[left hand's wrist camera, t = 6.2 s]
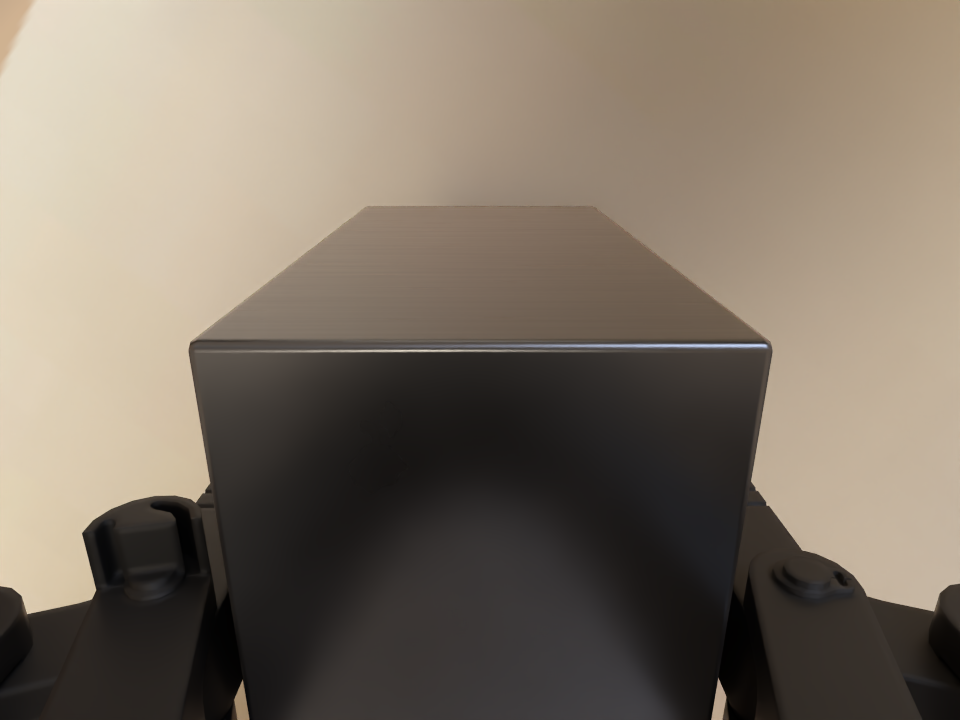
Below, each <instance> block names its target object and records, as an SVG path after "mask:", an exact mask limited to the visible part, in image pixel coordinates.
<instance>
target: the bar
mask: <svg viewBox="0 0 960 720" xmlns="http://www.w3.org/2000/svg"><path fill="white" fill-rule="evenodd" d="M189 357H190V363H191V369H192V375H193V381H194V387H195V393H196V399H197V405H198V411H199V417H200V423H201V429H202V435H203V441H204V447H205V453H206V459H207V465H208V471H209V477H210V483H211V489H212V495H213V501H214V507H215V513H216V520H217V526H218V532H219V538H220V544H221V550H222V556H223V562H224V568H225V574H226V580H227V586H228V592H229V598H230V604H231V610H232V616H233V622H234V628H235V634H236V640H237V646H238V652H239V658H240V664H241V670H242V676H243V682H244V688H245V694H246V700H247V706H248V712H249V719H250V720H711V718H712V712H713V706H714V700H715V694H716V688H717V682H718V676H719V670H720V664H721V658H722V652H723V646H724V640H725V634H726V628H727V622H728V616H729V610H730V604H731V598H732V592H733V586H734V580H735V574H736V568H737V562H738V556H739V550H740V544H741V538H742V532H743V526H744V520H745V514H746V508H747V502H748V496H749V490H750V484H751V478H752V472H753V466H754V460H755V454H756V448H757V442H758V436H759V429H760V423H761V417H762V411H763V405H764V399H765V393H766V387H767V381H768V375H769V369H770V363H771V357H772V346H771V343H770V341H769V340H767V339H766V338H765V337H763V336H762V335H761V334H759V333H758V332H757V331H756V330H754V329H753V328H752V327H750V326H749V325H748V324H746V323H745V322H744V321H742V320H741V319H740V318H739V317H737V316H736V315H735V314H733V313H732V312H731V311H729V310H728V309H727V308H726V307H724V306H723V305H722V304H720V303H719V302H718V301H716V300H715V299H714V298H712V297H711V296H710V295H709V294H707V293H706V292H705V291H703V290H702V289H701V288H699V287H698V286H697V285H696V284H694V283H693V282H692V281H690V280H689V279H688V278H686V277H685V276H684V275H682V274H681V273H680V272H679V271H677V270H676V269H675V268H673V267H672V266H671V265H669V264H668V263H667V262H666V261H664V260H663V259H662V258H660V257H659V256H658V255H656V254H655V253H654V252H652V251H651V250H650V249H649V248H647V247H646V246H645V245H643V244H642V243H641V242H639V241H638V240H637V239H636V238H634V237H633V236H632V235H630V234H629V233H628V232H626V231H625V230H624V229H622V228H621V227H620V226H619V225H617V224H616V223H615V222H613V221H612V220H611V219H609V218H608V217H607V216H606V215H604V214H603V213H602V212H600V211H599V210H598V209H596V208H595V207H593V206H368V207H365V208H364V209H363V210H361V211H360V212H359V213H357V214H356V215H355V216H354V217H352V218H351V219H350V220H348V221H347V222H346V223H344V224H343V225H342V226H341V227H339V228H338V229H337V230H335V231H334V232H333V233H331V234H330V235H329V236H328V237H326V238H325V239H324V240H322V241H321V242H320V243H318V244H317V245H316V246H315V247H313V248H312V249H311V250H309V251H308V252H307V253H305V254H304V255H303V256H302V257H300V258H299V259H298V260H296V261H295V262H294V263H293V264H291V265H290V266H289V267H287V268H286V269H285V270H283V271H282V272H281V273H280V274H278V275H277V276H276V277H274V278H273V279H272V280H270V281H269V282H268V283H267V284H265V285H264V286H263V287H261V288H260V289H259V290H257V291H256V292H255V293H254V294H252V295H251V296H250V297H248V298H247V299H246V300H244V301H243V302H242V303H241V304H239V305H238V306H237V307H235V308H234V309H233V310H231V311H230V312H229V313H228V314H226V315H225V316H224V317H222V318H221V319H220V320H219V321H217V322H216V323H215V324H213V325H212V326H211V327H209V328H208V329H207V330H206V331H204V332H203V333H202V334H200V335H199V336H198V337H196V338H195V339H194V340H193V341H191V343H190V347H189Z"/></svg>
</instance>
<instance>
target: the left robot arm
mask: <svg viewBox="0 0 960 720" xmlns="http://www.w3.org/2000/svg"><path fill="white" fill-rule="evenodd" d="M82 535H83V539H84V543H85V547H86V551H87V554H88V558H89V562H90V566H91V570H92V574H93V578H94V582H95V586H96V592H95V595H94V597H93V599H92V600H89V601H86V602H82V603H78V604H74V605H69V606H65V607H60V608H55V609H50V610H46V611H41V612H36V613H31V614H27V613H26V609H25V606H24V603H23V599H22V596H21V595H19V594H18V593H17V592H16V591H15V590H13V589H12V588H7V587H1V586H0V720H237V715H236V709H235V703H234V698H235V696H236V694H237V691H238V689H239V687H240V684H241V682H242V680H243V676H242V670H241V664H240V658H239V652H238V646H237V640H236V634H235V628H234V622H233V616H232V610H231V604H230V598H229V592H228V586H227V580H226V574H225V568H224V562H223V556H222V550H221V544H220V538H219V532H218V526H217V520H216V513H215V507H214V501H213V495H212V489H211V483H210V484H209V486H208V487H207V489H206V490H205V493H203V494H202V495H201V497H200V498H199V499H198V501H197V502H196V503H195V502H193V501H192V500H191V499H187V498H183V497H178V496H154V497H149V498H144V499H139V500H134V501H131V502H128V503H126V504H123V505H121V506H118V507H116V508H113V509H111V510H109V511H108V512H106V513H104V514H103V515H101V516H100V517H98V518H96V519H95V520H93V521H92V523H91V524H90V525H89V526H88V527H87V528H86V529H85V530H84V532H83V533H82ZM718 678H719V680H720V682H721V685H722V687H723V689H724V692H725V694H726V696H727V697H726V703H725V709H724V715H723V720H960V584H955V585H950V586H948V587H947V588H946V589H945V590H943V591H942V592H941V593H940V595H939V598H938V601H937V605H936V608H935V611H934V612H933V611H928V610H924V609H919V608H914V607H909V606H905V605H900V604H895V603H890V602H885V601H881V600H878V599H874V598H871V597H867V596H866V593H865V591H864V589H863V588H862V586H861V585H860V584H859V582H858V581H857V580H856V578H855V577H854V576H853V575H852V574H851V573H849V572H848V571H847V570H845V569H844V568H842V567H841V566H840V565H838V564H837V563H835V562H833V561H831V560H828V559H826V558H824V557H822V556H820V555H817V554H814V553H810V552H806V551H802V550H801V548H800V547H799V546H798V544H797V543H796V542H795V540H794V539H793V538H792V536H791V535H790V534H789V532H788V531H787V529H786V528H785V527H784V525H783V524H782V523H781V521H780V520H779V519H778V517H777V516H776V515H775V513H774V512H773V511H772V509H771V508H770V507H769V506H766V501H765V500H764V499H763V497H762V496H761V495H760V493H759V492H758V491H756V490H755V487H754V485H753V484H752V483H751V484H750V490H749V496H748V502H747V508H746V514H745V520H744V526H743V532H742V538H741V544H740V550H739V556H738V562H737V568H736V574H735V580H734V586H733V592H732V598H731V604H730V610H729V616H728V622H727V628H726V634H725V640H724V646H723V652H722V658H721V664H720V670H719V676H718Z"/></svg>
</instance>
